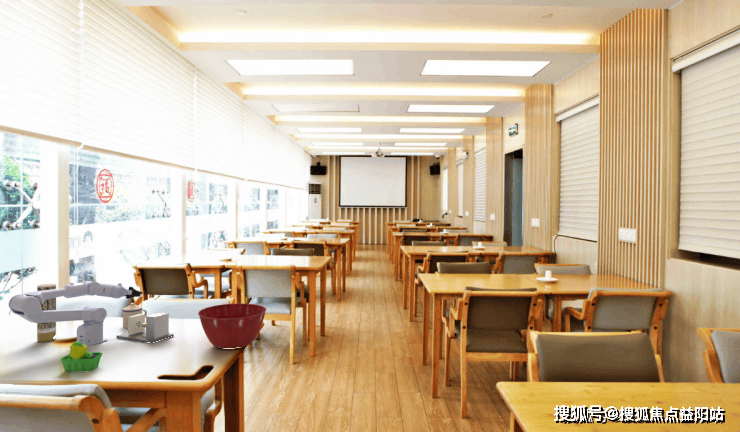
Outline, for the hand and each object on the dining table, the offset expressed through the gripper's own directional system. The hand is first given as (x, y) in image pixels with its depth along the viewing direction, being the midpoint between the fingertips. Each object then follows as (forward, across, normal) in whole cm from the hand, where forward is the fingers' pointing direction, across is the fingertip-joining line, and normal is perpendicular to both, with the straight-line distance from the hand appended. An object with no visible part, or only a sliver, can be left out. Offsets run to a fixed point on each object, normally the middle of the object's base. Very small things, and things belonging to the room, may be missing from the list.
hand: (134, 294), depth 209 cm
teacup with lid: (+12, +10, +15) cm, 22 cm away
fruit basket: (-37, -28, +31) cm, 56 cm away
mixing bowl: (+8, -58, +20) cm, 62 cm away
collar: (-1, -8, +18) cm, 19 cm away
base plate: (0, -13, +20) cm, 24 cm away
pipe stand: (0, -14, +18) cm, 23 cm away
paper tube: (-21, +23, +24) cm, 39 cm away
